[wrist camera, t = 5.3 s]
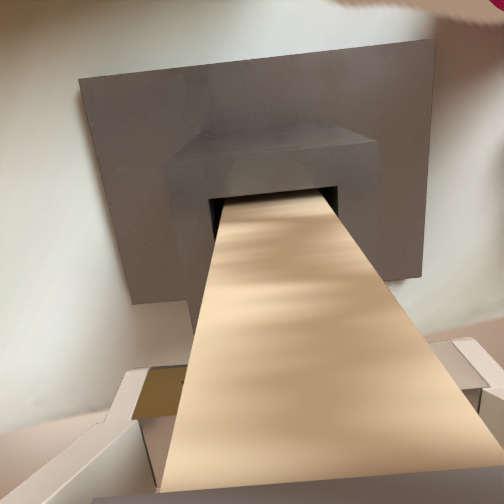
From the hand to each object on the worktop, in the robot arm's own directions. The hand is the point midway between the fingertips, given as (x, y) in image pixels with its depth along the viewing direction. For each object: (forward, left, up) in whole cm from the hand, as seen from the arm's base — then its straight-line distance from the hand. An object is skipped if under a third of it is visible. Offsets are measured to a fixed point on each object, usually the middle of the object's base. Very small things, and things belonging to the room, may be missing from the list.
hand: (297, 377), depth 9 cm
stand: (0, 0, -21) cm, 21 cm away
